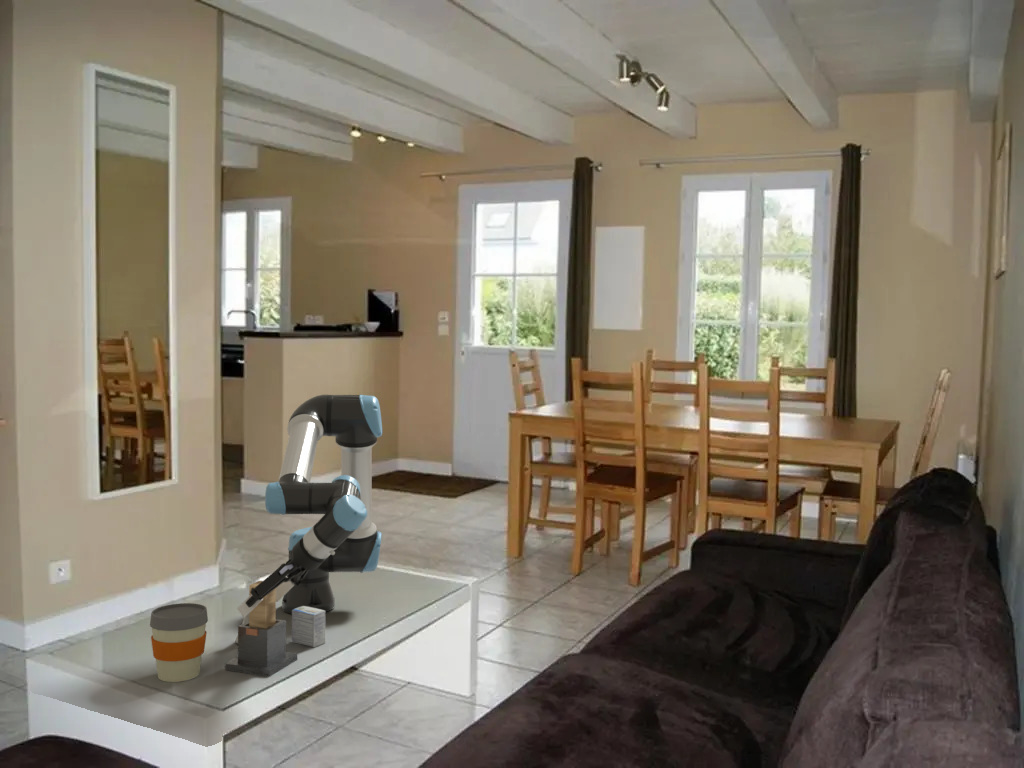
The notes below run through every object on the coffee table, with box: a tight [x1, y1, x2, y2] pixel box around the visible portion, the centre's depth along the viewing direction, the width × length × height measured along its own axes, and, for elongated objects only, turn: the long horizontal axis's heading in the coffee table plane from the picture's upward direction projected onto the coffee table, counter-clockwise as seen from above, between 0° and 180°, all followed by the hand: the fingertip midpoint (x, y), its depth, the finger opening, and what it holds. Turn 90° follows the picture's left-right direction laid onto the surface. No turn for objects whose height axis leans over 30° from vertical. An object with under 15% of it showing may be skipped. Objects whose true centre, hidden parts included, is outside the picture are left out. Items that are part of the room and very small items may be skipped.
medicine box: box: [291, 606, 326, 648], centre depth 229 cm, size 8×4×9 cm, turn 59°
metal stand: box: [224, 619, 298, 677], centre depth 212 cm, size 12×12×10 cm
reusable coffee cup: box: [149, 602, 209, 683], centre depth 205 cm, size 12×13×15 cm
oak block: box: [248, 580, 277, 628], centre depth 212 cm, size 5×5×18 cm
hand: (258, 605), depth 212 cm, fingers open, 13 cm apart
